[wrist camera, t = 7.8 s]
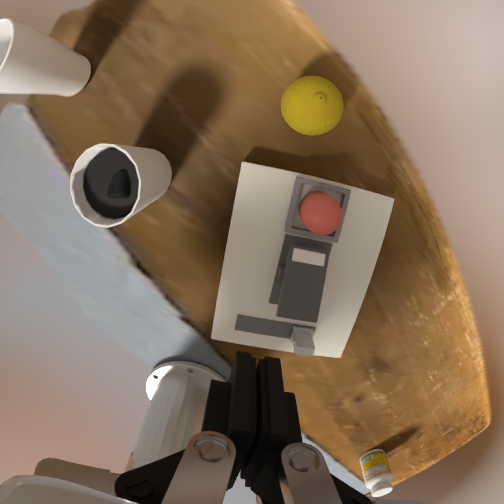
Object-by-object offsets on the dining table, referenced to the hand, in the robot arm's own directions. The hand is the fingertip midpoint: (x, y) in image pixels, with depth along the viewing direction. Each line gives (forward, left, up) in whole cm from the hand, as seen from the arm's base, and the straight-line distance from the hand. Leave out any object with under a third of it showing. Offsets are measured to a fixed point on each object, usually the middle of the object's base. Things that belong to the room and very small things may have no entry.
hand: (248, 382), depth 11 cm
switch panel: (-3, -5, -22) cm, 23 cm away
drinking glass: (+15, +25, -23) cm, 37 cm away
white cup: (+4, +13, -23) cm, 26 cm away
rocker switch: (-3, -5, -18) cm, 19 cm away
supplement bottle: (-39, -31, -23) cm, 55 cm away
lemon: (+14, -2, -23) cm, 26 cm away
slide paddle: (-10, -7, -20) cm, 23 cm away
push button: (+4, -5, -20) cm, 21 cm away
